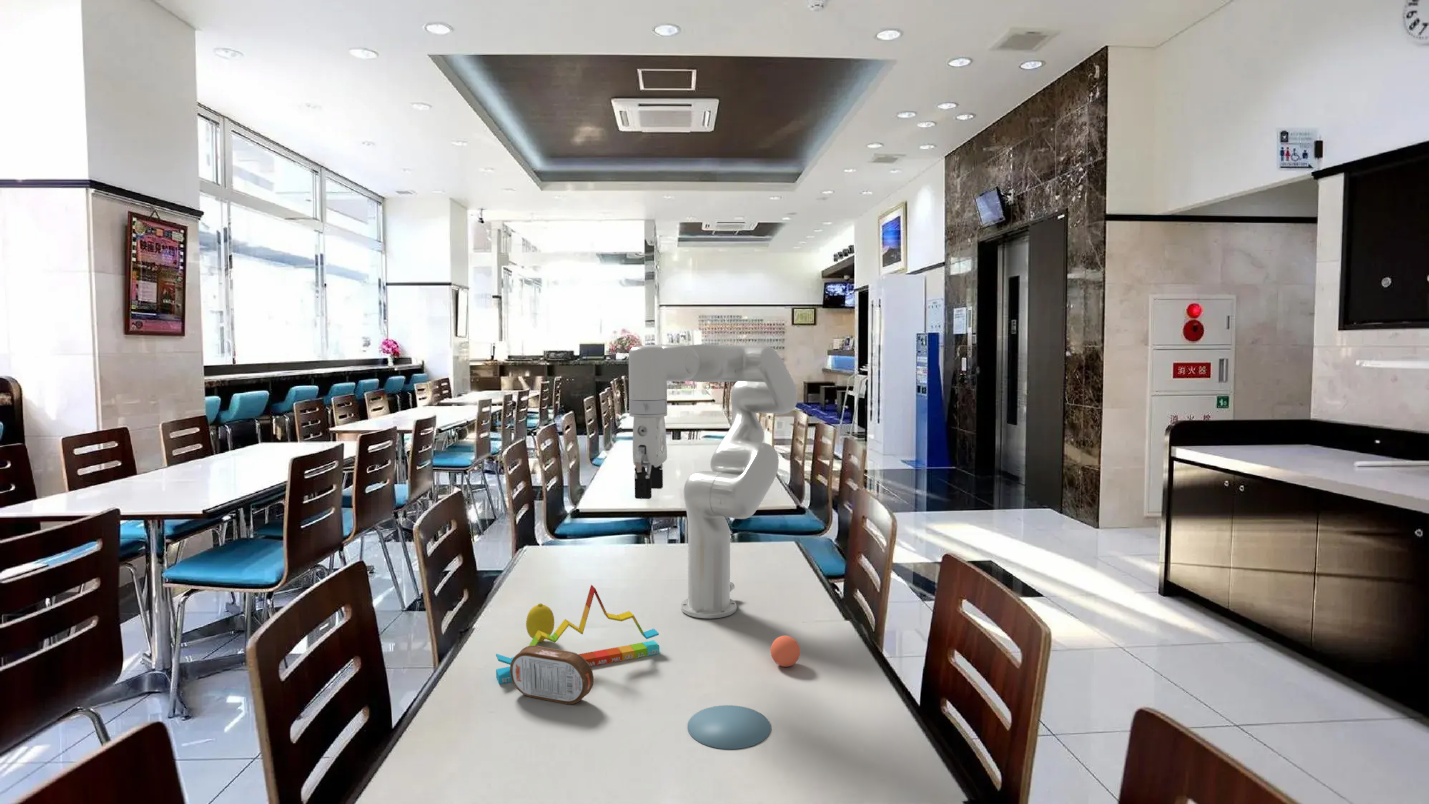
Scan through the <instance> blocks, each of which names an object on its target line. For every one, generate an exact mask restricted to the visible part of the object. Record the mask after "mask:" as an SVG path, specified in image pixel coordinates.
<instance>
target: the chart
mask: <svg viewBox="0 0 1429 804" xmlns="http://www.w3.org/2000/svg"><path fill="white" fill-rule="evenodd" d="M594 595H595V597H596V600H597V601H598V603H599V606H600V608H601V610H602V613H603V614H604V616H605V617H606V618H607V620H610V621H611V620H612V621H618V622H624V621H626V620H630V619H632V620H633V622H634V623H635V626H636V627H637V629H638V631H639V632H640V634H641V635H642V637H644V638H645V639H646V640H647V641H643V642H637V643H633V644H628V645H621V646H617V647H612V648H605V649H599V650H594V651H590V652H583V653H578V654H579V655H580V656H582V657H583V658H584V659H585V660H586V661H587V662H588V664H589V665H590V667H591V668H592V667H596V666H602V665H608V664H612V663H617V662H622V661H629V660H633V659H639V658H644V657H649V656H655V655H660V644H659V643H657V642H656V641H655V640H649V639H652V638H654V637H656V636H659V635H660V633H659V632H658V631H657V630H656V629H655V628H652V629H649V630H645V631H644V630H643V629H642V627H641V625H640V623H639V621H638V620H637V618H636V616H635V615H634V614H633V613H632V612H631V611H630V610H628V611H625V612H622V613H619V614H613V613H607V611H606V608H605V607H604V604H603V602H602V600H601V598H600V595H599V593H598V591H597V589H596V588H595V587H594V585H592V584H590V588H589V591H588V594H587V597H586V602H585V603H584V604H585V605H584V608H583V612H582V615H581V619H580V622H579V626H577V625H575V624H573V622H570V621H569V620H567V619H566V618H565V619H564V620H563V621H562V622H561V623H560V625H559V626H558V627H557V629H556V630H555V631H553V634H551V635H549V634H546V633H544V632H541V631H539V630H538V631H537V633H536V635H535V636H534V638H532V640H531V642H530V643H529V645H528V646H532V645H535V646H538V643H540V642H539V640H540V638H541V637H542V638H545V639H544V640H548V641H549V642H551V643H556V642H557V641H558V640H559V639H560V637H561V636H562V635H563V633H564V632H566V630H567V628H568V627H570V628H572V629H573V630H575V631H576V632H578V633H579V634H581V635H584V631H585V628H586V624H587V620H588V617H589V613H590V610H591V607H592V604H593V603H592V602H593V599H594ZM495 656H496V658H497V661H498V662H500V663H503V664H506V665H509V666H505V667H501V668H500V667H499V668H496V670H495V677H496V681H497V683H498V685H502V684H506V683H507V684H508V683H513V682H512V679H511V674H510V665H511V661H512V660H513V658H514V657H515V656H512V657H508V656H504V655H501V654H498V653H495Z"/></svg>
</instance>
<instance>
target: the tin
mask: <svg viewBox="0 0 1429 804" xmlns="http://www.w3.org/2000/svg"><path fill="white" fill-rule="evenodd" d="M579 654H580V653H576V652H574V651H568V650H562V649H557V648H550V647H545V646H540V645H536V646H535V645H532V646H529V645H528V646H525V647H524V648H522V649H521V650H520V651H519V652H518V653H517V654H516V655H515V656H513V657H514V658H513V660H512V661H511V665H509V667H510V674H511V679H512V682H511V683H512V684H513V686H514V687H515V688H516V690H517V691H518V692H520V693H521V694H522V695H524V696H526V697H529V698H534V699H539V700H544V701H547V702H548V701H550V702H553V703H557V704H558V703H559V704H564V705H574V704H577V703H578V702H580V701H581V700H582V699H584V697H586V696H587V695H589V694H590V692H591V691H592V689H593V687H594V680H595V679H594V673H593V670H592V667H590V665H589V664H588V662H587V661H586V660H585V659H584V658H583V657H582V656H580V655H579Z"/></svg>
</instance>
